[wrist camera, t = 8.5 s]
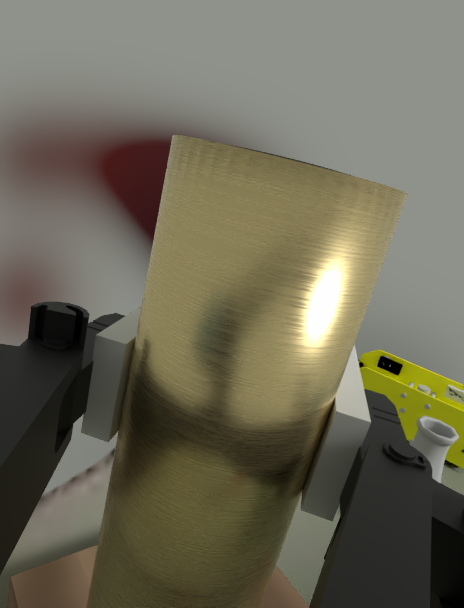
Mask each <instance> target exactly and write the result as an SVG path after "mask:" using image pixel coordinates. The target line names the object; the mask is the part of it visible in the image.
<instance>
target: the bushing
mask: <svg viewBox="0 0 464 608" xmlns="http://www.w3.org/2000/svg"><path fill="white" fill-rule="evenodd" d="M406 197H407V193H405V192H403V191H400V190H397V189H395V188H392V187H388V186H385V185H381V184H379V183H375V182H371V181H368V180H365V179H361V178H358V177H354V176H351V175H348V174H345V173H341V172H338V171H335V170H332V169H328V168H324V167H321V166H317V165H313V164H309V163H306V162H302V161H298V160H294V159H290V158H286V157H282V156H278V155H274V154H269V153H265V152H261V151H256V150H251V149H247V148H241V147H237V146H231V145H226V144H221V143H217V142H212V141H207V140H202V139H197V138H191V137H186V136H178V135H173V138H172V143H171V148H170V154H169V159H168V165H167V170H166V176H165V181H164V187H163V193H162V197H161V203H160V209H159V214H158V219H157V225H156V230H155V236H154V241H153V247H152V252H151V257H150V263H149V269H148V274H147V280H146V285H145V290H144V295H143V301H142V306H141V312H140V317H139V323H138V328H137V334H136V339H135V345H134V350H133V355H132V361H131V366H130V372H129V377H128V383H127V388H126V394H125V399H124V405H123V410H122V415H121V421H120V426H119V432H118V437H117V443H116V448H115V454H114V459H113V464H112V470H111V475H110V481H109V486H108V492H107V497H106V503H105V508H104V514H103V519H102V524H101V530H100V535H99V541H98V546H97V552H96V557H95V563H94V568H93V573H92V579H91V584H90V590H89V595H88V601H87V606H86V608H261V605H262V602H263V600H264V597H265V594H266V591H267V588H268V586H269V583H270V580H271V577H272V574H273V571H274V569H275V566H276V563H277V560H278V557H279V555H280V552H281V549H282V546H283V543H284V540H285V538H286V535H287V532H288V529H289V526H290V524H291V521H292V518H293V515H294V512H295V509H296V507H297V504H298V501H299V498H300V495H301V493H302V489H303V487H304V484H305V481H306V478H307V475H308V473H309V470H310V467H311V464H312V461H313V459H314V456H315V453H316V450H317V447H318V444H319V442H320V439H321V436H322V433H323V430H324V428H325V425H326V422H327V419H328V416H329V413H330V411H331V408H332V405H333V402H334V399H335V397H336V394H337V391H338V388H339V386H340V383H341V380H342V377H343V374H344V371H345V369H346V366H347V363H348V360H349V357H350V355H351V352H352V349H353V346H354V343H355V341H356V338H357V335H358V332H359V329H360V326H361V323H362V320H363V318H364V314H365V312H366V309H367V307H368V304H369V301H370V298H371V295H372V293H373V290H374V287H375V284H376V281H377V278H378V276H379V273H380V270H381V267H382V264H383V262H384V259H385V256H386V253H387V250H388V248H389V245H390V241H391V239H392V236H393V234H394V231H395V228H396V225H397V222H398V219H399V217H400V214H401V211H402V208H403V205H404V203H405V200H406Z"/></svg>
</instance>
